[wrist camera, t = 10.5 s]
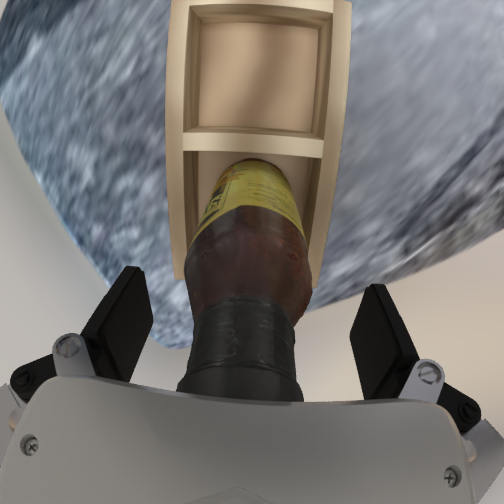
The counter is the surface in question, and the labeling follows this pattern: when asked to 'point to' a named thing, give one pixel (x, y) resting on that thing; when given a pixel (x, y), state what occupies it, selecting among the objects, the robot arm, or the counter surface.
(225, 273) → the sauce bottle
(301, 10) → the rail
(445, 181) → the counter surface
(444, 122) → the counter surface
